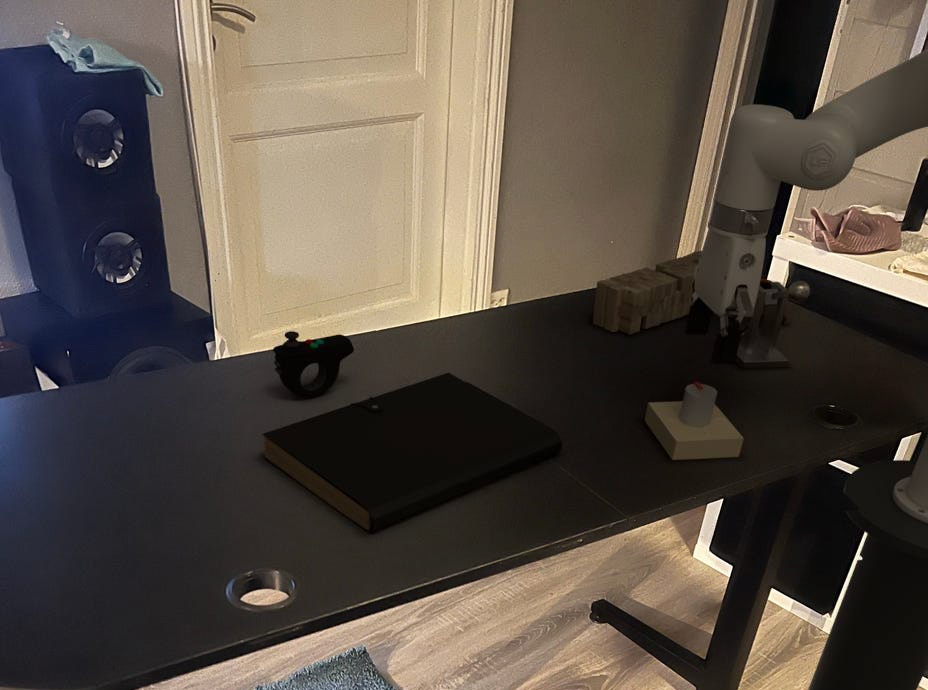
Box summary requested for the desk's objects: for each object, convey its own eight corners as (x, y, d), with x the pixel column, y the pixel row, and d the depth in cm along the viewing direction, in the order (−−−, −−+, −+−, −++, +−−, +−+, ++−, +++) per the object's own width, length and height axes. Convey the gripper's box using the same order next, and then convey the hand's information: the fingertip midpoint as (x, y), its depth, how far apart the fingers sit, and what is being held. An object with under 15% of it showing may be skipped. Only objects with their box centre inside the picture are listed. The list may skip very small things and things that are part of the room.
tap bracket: (786, 367, 163) (806, 297, 155) (742, 368, 161) (760, 298, 154) (762, 343, 170) (779, 275, 163) (719, 344, 169) (735, 276, 162)
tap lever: (813, 301, 149) (814, 279, 148) (794, 302, 149) (795, 279, 148) (771, 308, 162) (772, 288, 161) (753, 308, 161) (754, 288, 160)
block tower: (623, 342, 170) (725, 302, 185) (630, 294, 165) (734, 258, 179) (590, 327, 175) (692, 290, 189) (595, 280, 169) (700, 246, 184)
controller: (272, 396, 146) (267, 331, 139) (344, 380, 151) (342, 317, 145) (285, 408, 143) (281, 342, 136) (358, 390, 148) (357, 326, 142)
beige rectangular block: (739, 457, 137) (744, 437, 135) (672, 460, 136) (676, 440, 134) (707, 418, 147) (711, 399, 145) (644, 420, 145) (648, 401, 143)
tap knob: (714, 425, 138) (722, 394, 135) (685, 427, 137) (692, 395, 134) (703, 411, 141) (710, 380, 138) (674, 413, 141) (681, 381, 138)
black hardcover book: (447, 369, 146) (564, 432, 133) (446, 394, 149) (560, 459, 135) (261, 430, 128) (373, 510, 115) (263, 458, 131) (373, 539, 118)
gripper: (797, 240, 116) (760, 375, 127) (740, 197, 129) (710, 323, 140) (739, 240, 115) (706, 376, 126) (687, 197, 128) (661, 324, 139)
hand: (708, 348), depth 133 cm, fingers open, 9 cm apart
